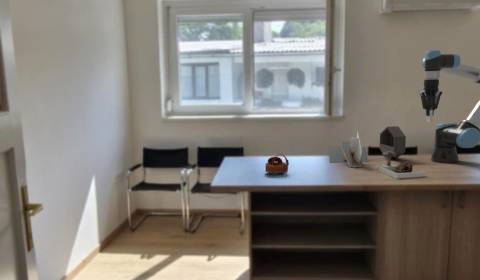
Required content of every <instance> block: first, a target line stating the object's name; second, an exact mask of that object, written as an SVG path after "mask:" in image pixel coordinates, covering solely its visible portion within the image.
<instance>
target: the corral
mask: <svg viewBox="0 0 480 280" xmlns="http://www.w3.org/2000/svg"><path fill="white" fill-rule="evenodd" d="M397 167H398V165H395V166H389V167H381V166H380V167H379V172H380V173H382V174H384V175H387V176H390V177H392V178H394V179H397V180H398V179H409V178H422V177H424V178H425V177H426V176H427V171H414V172H413V171H412V172H410V173H399V172H396V168H397Z"/></svg>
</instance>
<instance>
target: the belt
mask: <svg viewBox="0 0 480 280" xmlns="http://www.w3.org/2000/svg"><path fill="white" fill-rule="evenodd" d="M279 156H282V157H284V161H285V162H283V159H282V158H281V157H279ZM289 165H290V162H289V159H288V157H287V156H285V154H282V153H278V154H276V155H275V156H271V157H269V158H268V159H267V163H265V173H270V174H281V173H288V171H289Z"/></svg>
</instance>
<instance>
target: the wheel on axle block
mask: <svg viewBox="0 0 480 280" xmlns="http://www.w3.org/2000/svg"><path fill="white" fill-rule="evenodd" d="M382 157H384V158H385V157H387V159H386V164H385V163H384V164H380V167H389V166H396V165H395V164H392V163H391V161H392V159H391V157H396V153H393V152H390V151H388V152H384V153H382Z"/></svg>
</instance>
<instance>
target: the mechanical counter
mask: <svg viewBox="0 0 480 280" xmlns="http://www.w3.org/2000/svg"><path fill="white" fill-rule="evenodd" d="M397 166H398V167H397V168H396V171H395V173H410V172H413V167H414V165H413V164H412V163H411V161H410V160H406V161H403V162H401V163H399V164H397Z"/></svg>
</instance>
